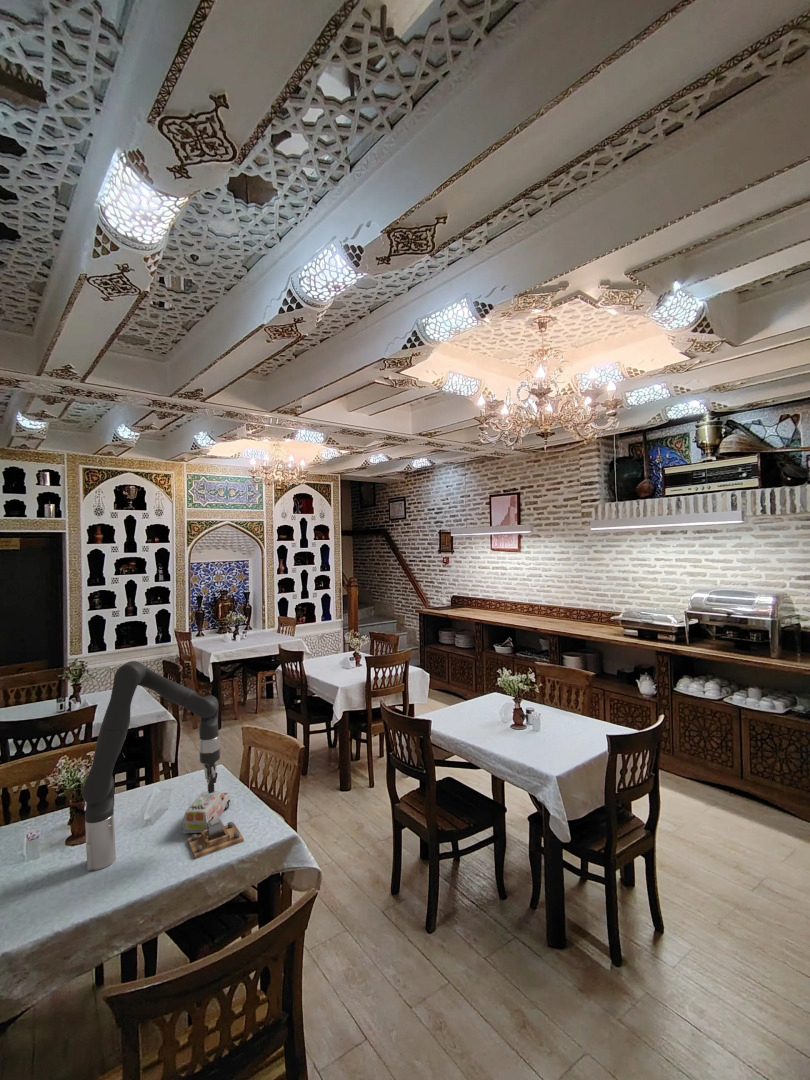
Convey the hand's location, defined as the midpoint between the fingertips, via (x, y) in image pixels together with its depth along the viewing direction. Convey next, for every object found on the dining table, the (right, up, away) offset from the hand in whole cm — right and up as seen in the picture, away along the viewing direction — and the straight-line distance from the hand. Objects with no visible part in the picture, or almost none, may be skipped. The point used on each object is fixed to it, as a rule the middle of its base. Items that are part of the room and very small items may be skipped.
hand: (211, 792), depth 201 cm
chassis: (+2, -19, 0) cm, 20 cm away
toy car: (-8, -20, +16) cm, 27 cm away
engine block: (+2, -18, 0) cm, 18 cm away
